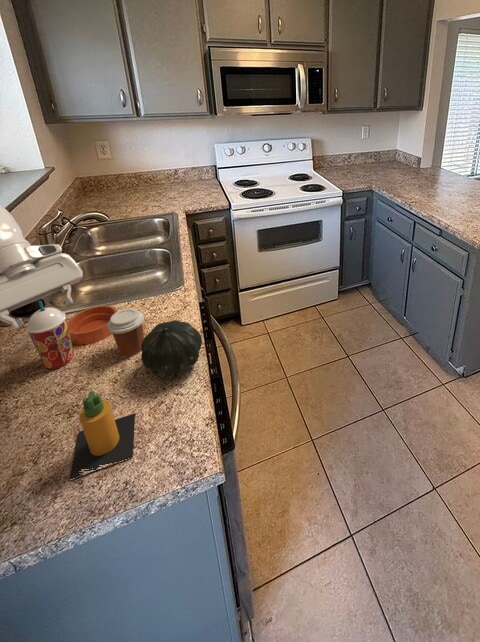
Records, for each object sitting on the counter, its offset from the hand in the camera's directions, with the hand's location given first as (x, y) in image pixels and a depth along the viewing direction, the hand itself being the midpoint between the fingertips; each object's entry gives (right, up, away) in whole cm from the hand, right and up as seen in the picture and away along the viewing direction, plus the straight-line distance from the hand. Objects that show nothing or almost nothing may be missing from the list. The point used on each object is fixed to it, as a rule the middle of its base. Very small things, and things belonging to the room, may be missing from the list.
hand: (46, 316), depth 78 cm
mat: (+14, -27, -2) cm, 31 cm away
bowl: (-10, -14, +32) cm, 36 cm away
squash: (+21, -19, +19) cm, 34 cm away
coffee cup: (+6, -17, +24) cm, 30 cm away
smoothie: (-12, -19, +20) cm, 30 cm away
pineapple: (+14, -26, -2) cm, 30 cm away
